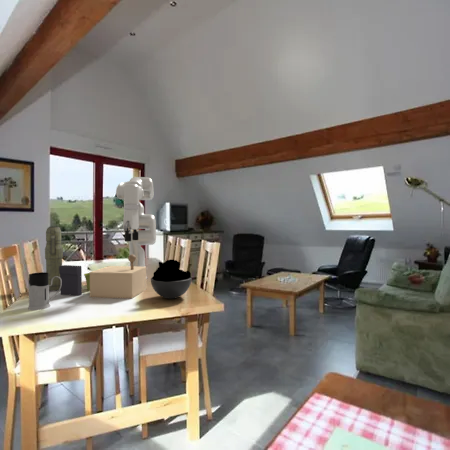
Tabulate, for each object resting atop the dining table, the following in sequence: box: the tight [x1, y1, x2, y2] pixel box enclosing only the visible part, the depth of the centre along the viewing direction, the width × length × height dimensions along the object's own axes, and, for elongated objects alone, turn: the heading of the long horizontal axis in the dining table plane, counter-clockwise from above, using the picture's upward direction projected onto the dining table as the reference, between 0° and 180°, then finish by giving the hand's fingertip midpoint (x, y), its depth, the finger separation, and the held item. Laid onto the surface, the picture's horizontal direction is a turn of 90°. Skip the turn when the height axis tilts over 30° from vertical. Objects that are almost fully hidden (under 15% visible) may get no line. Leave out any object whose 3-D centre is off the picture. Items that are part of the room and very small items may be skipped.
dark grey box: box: [59, 264, 83, 297], centre depth 166 cm, size 11×4×15 cm, turn 74°
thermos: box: [44, 226, 64, 292], centre depth 177 cm, size 9×12×35 cm
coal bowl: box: [150, 259, 192, 299], centre depth 158 cm, size 20×20×19 cm
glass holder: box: [27, 271, 62, 311], centre depth 143 cm, size 9×14×15 cm, turn 94°
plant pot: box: [83, 272, 90, 291], centre depth 178 cm, size 9×9×9 cm
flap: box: [88, 254, 147, 274], centre depth 168 cm, size 20×22×9 cm
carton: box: [89, 267, 147, 299], centre depth 168 cm, size 20×22×12 cm
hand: (131, 240), depth 167 cm, fingers open, 9 cm apart
